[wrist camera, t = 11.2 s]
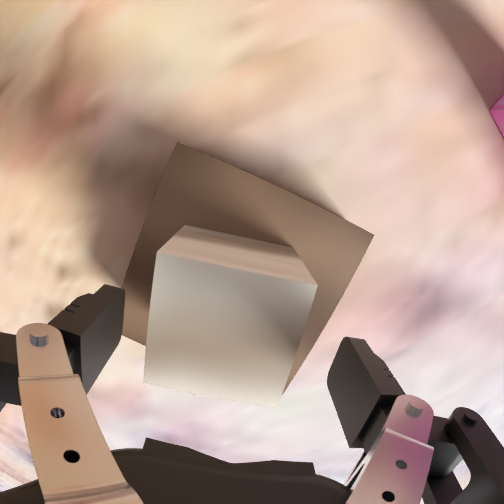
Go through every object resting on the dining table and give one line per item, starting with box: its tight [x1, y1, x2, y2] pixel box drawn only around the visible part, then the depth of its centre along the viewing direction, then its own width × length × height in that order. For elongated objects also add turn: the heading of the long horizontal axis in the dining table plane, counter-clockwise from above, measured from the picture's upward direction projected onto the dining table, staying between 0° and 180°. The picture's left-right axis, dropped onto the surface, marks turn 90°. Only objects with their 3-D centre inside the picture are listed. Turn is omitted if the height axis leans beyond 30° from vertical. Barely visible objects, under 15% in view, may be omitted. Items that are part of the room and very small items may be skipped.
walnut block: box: [122, 142, 374, 395], centre depth 19 cm, size 11×11×5 cm
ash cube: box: [143, 225, 318, 407], centre depth 14 cm, size 6×6×6 cm
